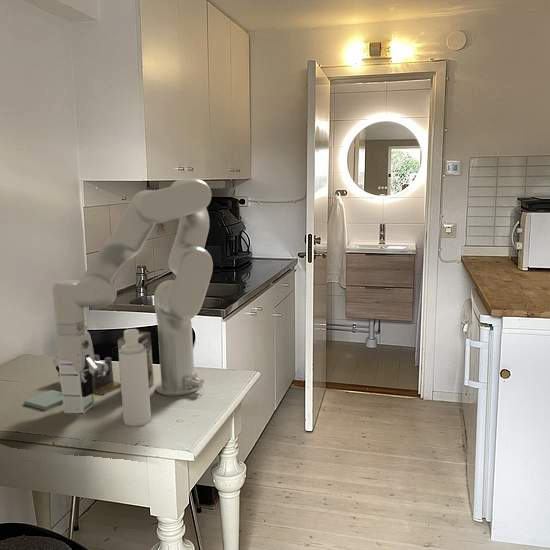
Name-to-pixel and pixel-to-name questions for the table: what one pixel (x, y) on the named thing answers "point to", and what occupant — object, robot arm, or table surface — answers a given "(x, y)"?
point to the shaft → (102, 368)
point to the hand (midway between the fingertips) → (77, 392)
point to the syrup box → (73, 389)
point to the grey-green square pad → (45, 400)
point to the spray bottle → (134, 380)
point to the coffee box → (146, 341)
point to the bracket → (104, 378)
